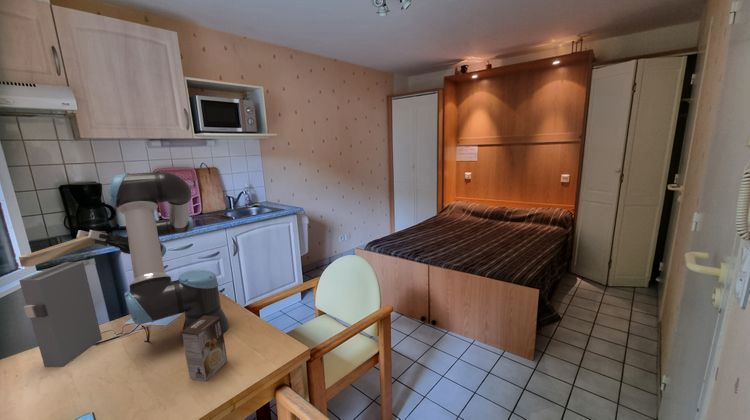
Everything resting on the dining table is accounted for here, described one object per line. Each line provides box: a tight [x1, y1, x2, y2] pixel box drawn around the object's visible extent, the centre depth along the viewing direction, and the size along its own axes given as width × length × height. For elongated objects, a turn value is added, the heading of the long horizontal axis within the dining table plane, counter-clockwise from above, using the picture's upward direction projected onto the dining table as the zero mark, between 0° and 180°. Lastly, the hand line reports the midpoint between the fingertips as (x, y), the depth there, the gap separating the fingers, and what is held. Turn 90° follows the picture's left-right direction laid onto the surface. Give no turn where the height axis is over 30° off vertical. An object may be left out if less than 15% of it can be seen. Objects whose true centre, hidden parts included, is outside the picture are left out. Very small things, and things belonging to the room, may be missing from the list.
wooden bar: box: [18, 230, 108, 268], centre depth 103 cm, size 3×26×3 cm, turn 179°
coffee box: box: [180, 315, 228, 382], centre depth 93 cm, size 9×6×16 cm
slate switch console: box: [19, 261, 103, 368], centre depth 100 cm, size 6×15×30 cm, turn 179°
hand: (84, 233), depth 108 cm, fingers closed on wooden bar, 3 cm apart
